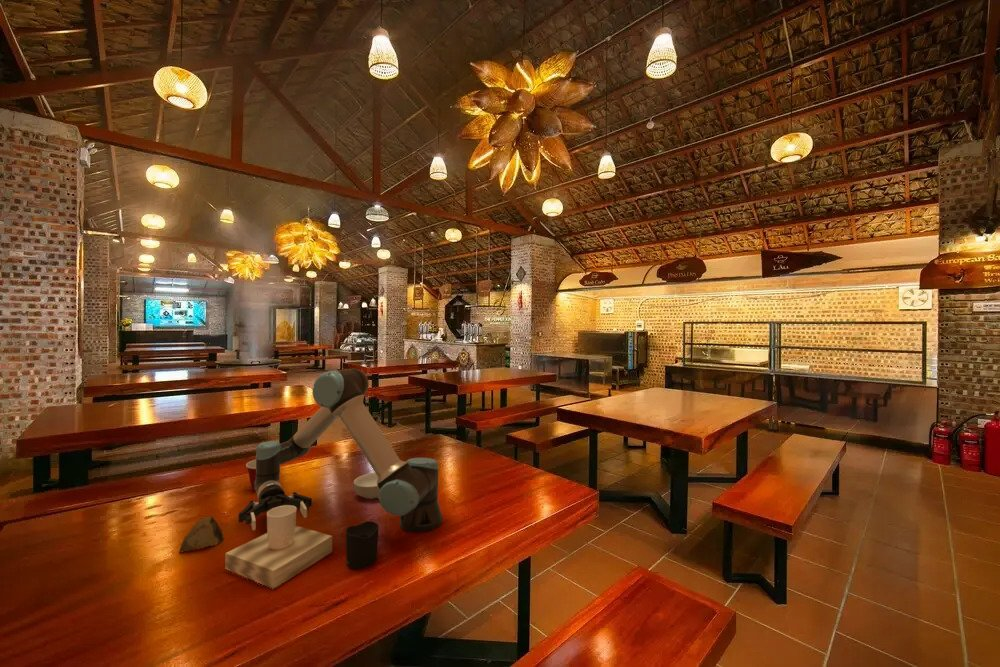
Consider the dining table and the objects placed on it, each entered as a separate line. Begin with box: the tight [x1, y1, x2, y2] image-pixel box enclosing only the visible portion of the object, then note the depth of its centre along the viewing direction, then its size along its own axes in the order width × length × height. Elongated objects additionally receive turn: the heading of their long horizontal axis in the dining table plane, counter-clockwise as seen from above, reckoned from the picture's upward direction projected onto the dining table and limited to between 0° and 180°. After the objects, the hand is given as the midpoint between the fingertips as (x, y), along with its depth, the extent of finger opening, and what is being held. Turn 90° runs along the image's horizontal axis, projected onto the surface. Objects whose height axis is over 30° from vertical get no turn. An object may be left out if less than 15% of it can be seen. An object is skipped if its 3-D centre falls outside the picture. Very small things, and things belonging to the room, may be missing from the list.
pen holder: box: [345, 520, 380, 570], centre depth 119 cm, size 9×9×10 cm
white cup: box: [266, 505, 298, 550], centre depth 118 cm, size 8×8×10 cm
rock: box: [179, 516, 225, 553], centre depth 126 cm, size 11×9×10 cm
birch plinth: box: [224, 525, 333, 590], centre depth 118 cm, size 20×20×5 cm
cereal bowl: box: [353, 472, 380, 499], centre depth 167 cm, size 17×17×7 cm
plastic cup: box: [245, 459, 256, 493], centre depth 171 cm, size 11×11×12 cm
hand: (280, 519), depth 118 cm, fingers open, 13 cm apart
